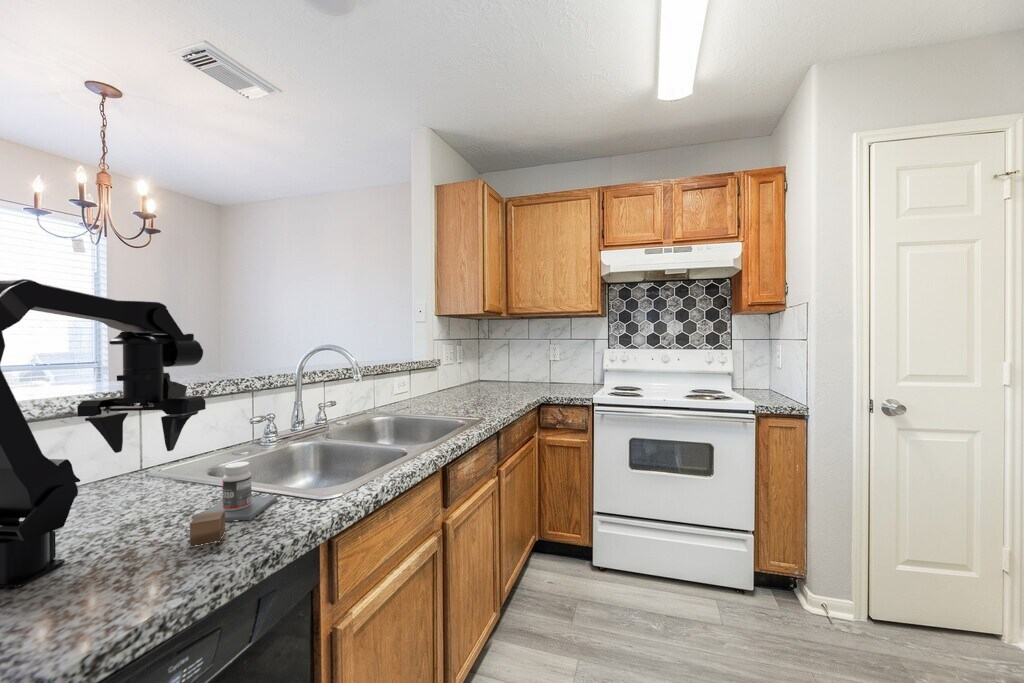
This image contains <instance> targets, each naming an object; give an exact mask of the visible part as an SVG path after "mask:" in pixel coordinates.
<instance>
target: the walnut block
mask: <svg viewBox="0 0 1024 683" xmlns="http://www.w3.org/2000/svg"><path fill="white" fill-rule="evenodd" d="M224 532H225V533H226V522H225V510H222V511H215V512H208V513H203V512H202V513H197V514H196V515H195V516H194V518H193V519H192V520H191V522H189V547H190V546H195V545H201V544H205V543H210V542H215V541H220V539H221V537H222V536H223V534H224ZM224 535H225V534H224ZM223 537H224V536H223ZM223 537H222V538H223ZM221 540H222V539H221ZM220 542H221V541H220Z"/></svg>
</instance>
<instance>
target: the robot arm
mask: <svg viewBox="0 0 1024 683" xmlns="http://www.w3.org/2000/svg"><path fill="white" fill-rule="evenodd" d="M29 311H35V312H40V313H41V312H42V313H46V314H47V313H48V314H53V315H59V316H60V315H61V316H65V317H72V318H79V319H84V320H91V321H96V322H98V323H102V324H104V325H106V326H108V327H109V328H112V329H114V330H118V331H120V333H119V334H118V335H117V336H115V337H114V338H112V339H110V340H109V342H108V344H110V346H111V345H116V346H117V345H121V346H122V374H120V375H119V374H118V375H116V381H117V382H122V396H116V397H114V396H111V397H110V396H109V397H108V396H107V397H105V396H103V397H100V398H99V397H98V398H93V399H83V400H81V402H80V403H79V404H78V405H77V406H76V409H77V410H76V413H77V415H76V416H77V417H81V418H82V417H85V418H84V421H85V422H89V423H90V424H91V425H93V427H94V428H95V429H96V430H97V431H98V432H99V433H100V435H101V436H102V438H104V440H105V441H106V443H107V444H108V446H109V447H110V448H111V450H112V451H113V453H114V454H115V453H116V454H117V453H121V452H122V450H123V445H124V444H123V443H124V421H125V420H126V419H127V417H128V414H129V411H130V412H133V411H134V412H135V411H136V412H137V411H139V412H140V411H141V412H143V411H162V412H163V413H164V414H166V415H163V416H160V419H161V420H160V421H161V426H162V432H163V440H164V445H165V448H166V452H171V451H174V449H175V447H176V446H177V443H178V440H179V438H180V435H181V434H182V430H183V429H184V426H186V423H187V422H188V421H189V419H191V417H192V416H196V415H198V413H199V411H204V410H206V409H207V408H206V400H205V398H204V397H203V396H202V395H186V394H187V390H188V386H187V385H185V384H182V383H179V382H176V381H172V380H171V375H170V372H165V370H164V368H172V367H173V368H174V367H185V366H186V367H187V366H188V367H189V366H195V365H197V364H198V363H200V361H201V360H202V359H203V356H204V349H203V348H202V345H201V343H200V342H199V341H197V340H196V339H194V338H195V334H194V333H183V331H182V330H181V328H180V326H178V324H177V322H176V321H175V319H174V318H173V316H172V315H171V313H170V312H169V310H168V308H167V306H166V304H164V303H161V302H159V301H144V300H138V301H137V300H117V299H112V298H108V297H103V296H98V295H94V294H91V293H90V294H89V293H84V292H79V291H75V290H71V289H67V288H61V287H59V286H58V287H57V286H52V285H47V284H45V283H39V282H37V281H35V280H33V279H27V278H25V279H24V278H21V279H17V278H15V279H14V278H13V279H11V278H10V279H0V364H1V363H2V359H3V356H4V351H5V348H6V342H5V339H4V338H5V337H4V334H3V331H5V330H6V329H9V328H10V327H12V326H14V325H16V324H18V323H19V322H21V320H23V318H24V317H25V316H26V315H27V313H29ZM1 368H2V367H1V366H0V589H2V588H1V587H13V588H16V587H15V586H19V585H22V584H24V585H25V583H26V582H28V581H29V582H31V581H33V580H35V579H37V578H38V576H39V577H41V576H42V574H43V575H44V574H46V573H49V572H50V571H51V570H54V569H56V568H58V567H60V566H61V565H63V564H65V562H66V560H65V559H64V558H57V559H55V558H56V557H57V556H56V551H57V550H56V547H57V546H56V530H58V529H59V530H60V529H62V528H63V527H65V525H66V522H67V519H68V516H69V515H70V511H71V508H72V506H73V503H74V501H75V499H76V497H78V495H79V488H78V484H77V483H80V482H81V479H80V478H79V477H77V475H76V474H75V472H74V469H73V465H72V462H71V461H70V460H69V459H67V458H65V459H64V458H63V459H62V458H60V459H59V458H56V459H55V458H48V457H46V456H45V455H44V453H42V450H41V448H40V446H39V444H38V442H37V440H36V438H35V436H34V434H33V431H32V429H31V427H30V425H29V423H28V422H27V419H26V418H25V415H24V413H23V411H22V409H21V407H20V405H19V403H18V402H17V400H16V397H15V395H14V393H13V391H12V389H11V387H10V384H9V382H8V381H7V379H6V377H5V374H4V372H3V371H2V369H1ZM135 404H139V405H135ZM20 519H23V520H20ZM40 575H41V576H40ZM36 577H37V578H36ZM34 578H35V579H34ZM32 579H33V580H32ZM30 580H31V581H30ZM29 582H28V583H29ZM26 584H27V583H26ZM22 586H23V585H22ZM19 587H20V586H19Z"/></svg>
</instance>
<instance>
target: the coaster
mask: <svg viewBox="0 0 1024 683" xmlns="http://www.w3.org/2000/svg"><path fill="white" fill-rule="evenodd" d="M277 499H278V498H277V495H272V496H271V495H270V496H269V495H267V496H251V500H252V501H251V504H250V505H249V506H248V507H246V508H243V509H240V510H235V511H226V510H225V521H226V522H235V521H234V520H250V521H251V520H253V519H254V518H255V517H256V515H257V516H258V515H259V514H260V513H262V512H263V511H264V510H266V509H267V508H268V507H269V506H271V505H272V504H273V503H275V502H276V501H277ZM222 510H224V509H223V500H221V501H220V502H218V503H216V504H214V505H213V506H211V507H210V508H209V509H206V510H205V511H204V512H202V513H208V512H215V511H222ZM253 517H254V518H253ZM252 518H253V519H252Z"/></svg>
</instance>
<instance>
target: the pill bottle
mask: <svg viewBox="0 0 1024 683" xmlns="http://www.w3.org/2000/svg"><path fill="white" fill-rule="evenodd" d="M250 467H251V466H250V462H249V461H237V462H232V463H229V464H227V465H225V466H224V475H223V477H222V501H223V509H224V510H226V511H235V510H240V509H243V508H246V507H248V506H249V505H250V504H251V501H252V500H251V497H252V473H251V471H250Z"/></svg>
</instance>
